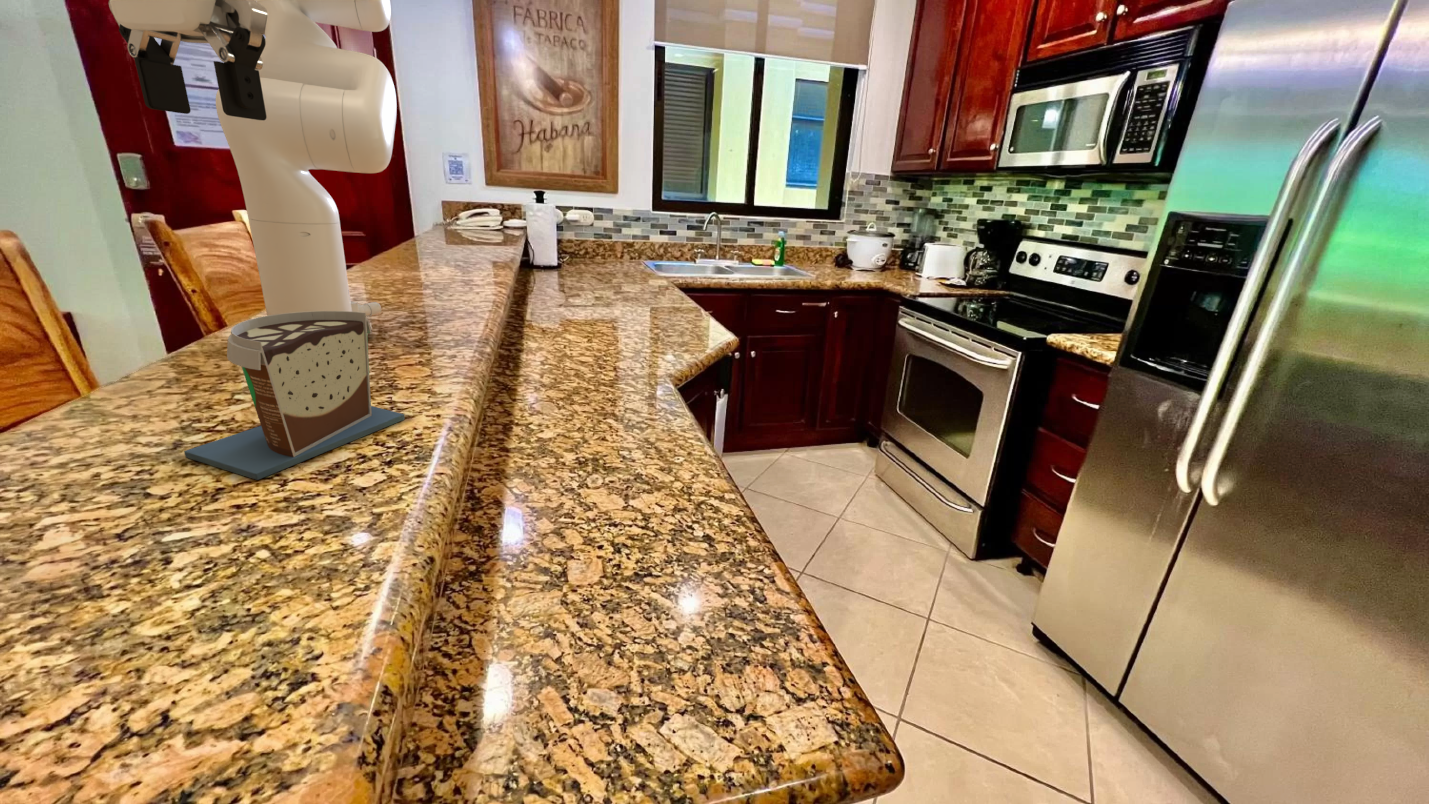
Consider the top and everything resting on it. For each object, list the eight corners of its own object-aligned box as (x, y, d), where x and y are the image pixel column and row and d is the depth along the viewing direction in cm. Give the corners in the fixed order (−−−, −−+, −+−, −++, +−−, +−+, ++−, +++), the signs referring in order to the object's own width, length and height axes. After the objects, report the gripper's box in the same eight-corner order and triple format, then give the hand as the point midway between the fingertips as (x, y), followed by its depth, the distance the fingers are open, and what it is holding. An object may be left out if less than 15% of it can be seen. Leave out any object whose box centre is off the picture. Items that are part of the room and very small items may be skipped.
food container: (323, 402, 55) (307, 304, 52) (381, 410, 55) (369, 311, 52) (206, 455, 44) (175, 333, 40) (278, 465, 44) (253, 343, 40)
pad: (343, 403, 57) (342, 398, 57) (405, 419, 55) (404, 413, 55) (185, 457, 44) (183, 450, 44) (257, 480, 42) (255, 473, 42)
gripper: (21, -148, 42) (88, 101, 48) (176, -163, 38) (229, 113, 44) (142, -98, 49) (188, 115, 55) (286, -106, 45) (319, 127, 51)
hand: (206, 114), depth 49 cm, fingers open, 9 cm apart
